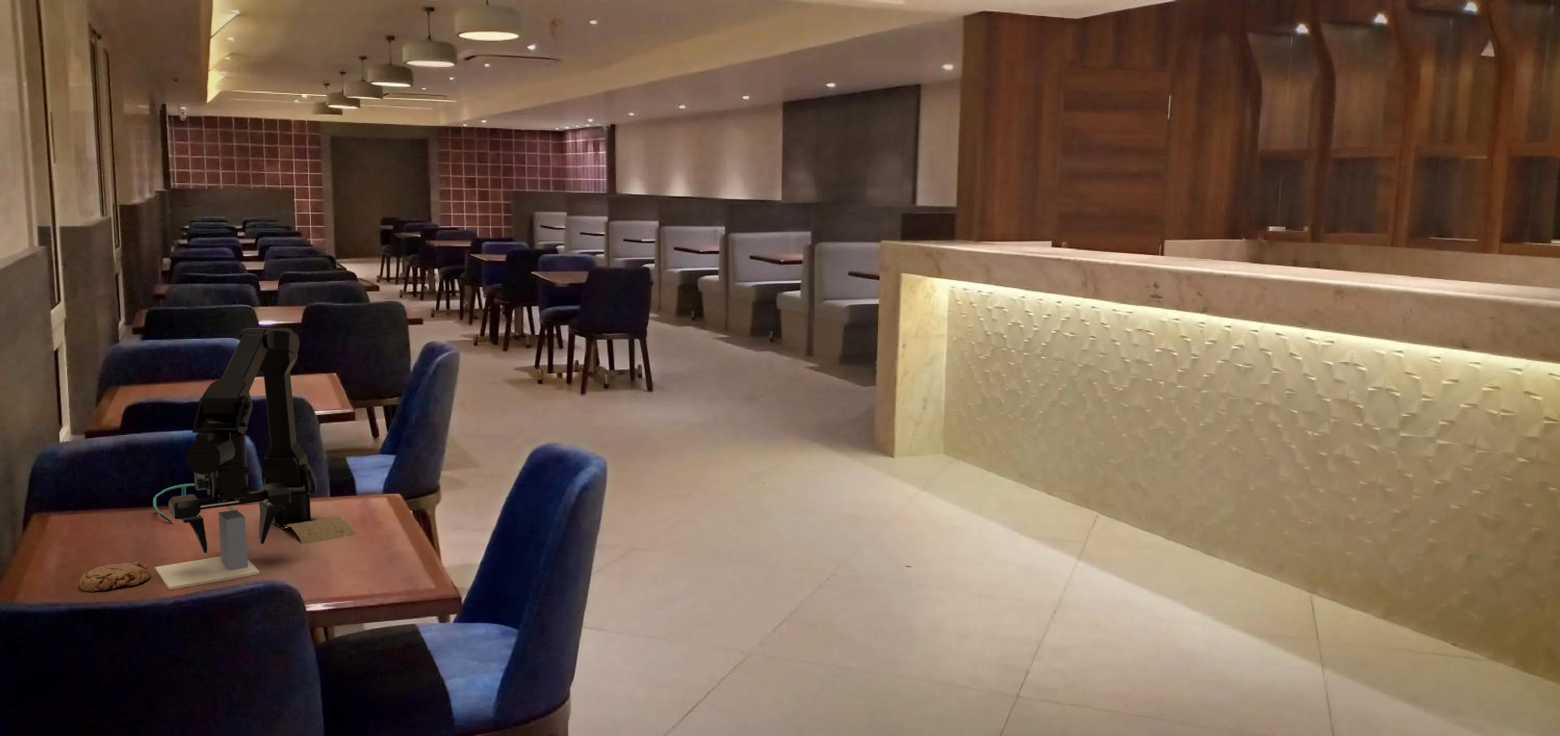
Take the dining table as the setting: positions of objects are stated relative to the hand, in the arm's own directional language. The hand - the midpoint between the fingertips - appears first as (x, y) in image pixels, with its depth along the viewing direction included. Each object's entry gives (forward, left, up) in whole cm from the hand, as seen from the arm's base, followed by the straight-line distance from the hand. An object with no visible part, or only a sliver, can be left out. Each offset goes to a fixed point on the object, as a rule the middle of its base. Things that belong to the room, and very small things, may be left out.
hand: (233, 547), depth 201 cm
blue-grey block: (0, 0, -3) cm, 3 cm away
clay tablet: (-18, -14, -4) cm, 23 cm away
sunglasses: (-1, -43, -4) cm, 43 cm away
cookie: (+18, -3, -4) cm, 19 cm away
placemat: (+5, 0, -4) cm, 6 cm away
